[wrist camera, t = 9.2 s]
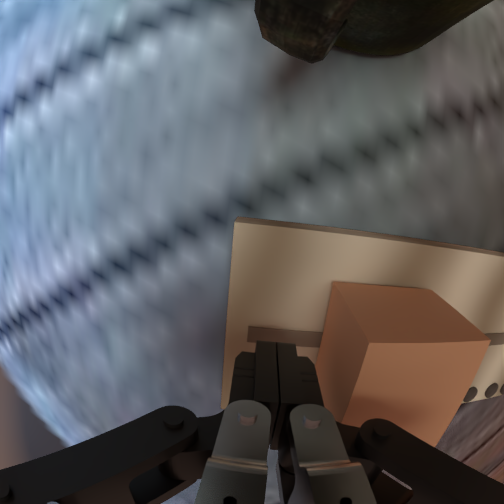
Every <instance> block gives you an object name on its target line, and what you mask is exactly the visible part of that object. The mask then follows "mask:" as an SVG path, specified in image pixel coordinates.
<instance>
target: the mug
mask: <svg viewBox="0 0 504 504" xmlns="http://www.w3.org/2000/svg"><path fill="white" fill-rule="evenodd" d="M492 1H493V0H255V10H254V11H255V14H256V17H257V20H258V23H259V27H260V30H261V34H262V38H264V39H265V40H267V41H269V42H270V43H272V44H274V45H275V46H277V47H278V48H280V49H281V50H283V51H284V52H286V53H287V54H289V55H291V56H294V57H297V58H299V59H302V60H304V61H307V62H309V63H314V62H317V61H321V60H323V59H324V58H325V56H326V55H327V54H328V52H329V51H330V49H331V48H332V46H333V45H335V46H338V47H341V48H344V49H347V50H351V51H356V52H360V53H365V54H374V55H396V54H402V53H407V52H410V51H413V50H416V49H418V48H420V47H422V46H423V45H425V44H426V43H428V42H429V41H431V40H432V39H434V38H435V37H437V36H438V35H440V34H441V33H443V32H444V31H446V30H447V29H449V28H450V27H452V26H453V25H455V24H456V23H458V22H459V21H461V20H463V19H464V18H466V17H467V16H469V15H470V14H472V13H474V12H475V11H477V10H478V9H480V8H482V7H483V6H485V5H487V4H488V3H490V2H492Z"/></svg>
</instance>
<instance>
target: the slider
mask: <svg viewBox="0 0 504 504" xmlns="http://www.w3.org/2000/svg"><path fill="white" fill-rule="evenodd" d="M490 341H491V340H490V339H489V338H488V337H487V336H486V335H485V334H484V333H482V332H481V331H480V330H479V329H478V328H477V327H476V326H474V325H473V324H472V323H471V322H470V321H469V320H467V319H466V318H465V317H464V316H463V315H462V314H460V313H459V312H458V311H457V310H456V309H454V308H453V307H452V306H451V305H450V304H448V303H447V302H446V301H445V300H444V299H442V298H441V297H440V296H439V295H437V294H436V293H435V292H434V291H433V290H431V289H418V288H405V287H392V286H380V285H367V284H356V283H344V282H333V287H332V292H331V297H330V302H329V307H328V312H327V317H326V322H325V326H324V331H323V335H322V340H321V344H320V348H319V353H318V357H317V361H316V365H315V368H316V372H317V377H318V382H319V385H320V389H321V394H322V398H323V403H324V407H325V408H326V409H328V410H329V411H330V412H331V413H332V414H333V416H334V419H335V421H337V422H339V423H342V424H346V425H350V426H355V427H361V425H362V424H363V423H364V422H365V421H367V420H369V419H374V418H381V419H386V420H388V421H391V422H393V423H394V424H396V425H397V426H399V427H401V428H402V429H404V430H406V431H407V432H409V433H411V434H412V435H414V436H416V437H417V438H419V439H421V440H423V441H424V442H426V443H428V444H429V445H431V446H433V447H435V446H436V445H437V443H438V441H439V440H440V438H441V437H442V435H443V434H444V432H445V430H446V429H447V427H448V426H449V424H450V422H451V421H452V419H453V417H454V415H455V414H456V412H457V410H458V408H459V407H460V405H461V403H462V401H463V399H464V397H465V395H466V394H467V392H468V390H469V388H470V386H471V384H472V382H473V380H474V378H475V375H476V373H477V371H478V369H479V367H480V365H481V363H482V360H483V358H484V356H485V353H486V351H487V349H488V346H489V344H490Z"/></svg>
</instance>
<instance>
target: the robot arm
mask: <svg viewBox="0 0 504 504" xmlns="http://www.w3.org/2000/svg"><path fill="white" fill-rule="evenodd" d="M269 445H270V449H271V450H278V460H277V464H276V473H277V481H278V489H279V497H280V504H504V484H502V483H500V482H498V481H496V480H494V479H492V478H490V477H488V476H486V475H484V474H482V473H480V472H478V471H477V470H475V469H473V468H471V467H469V466H467V465H465V464H463V463H462V462H460V461H458V460H456V459H454V458H452V457H451V456H449V455H447V454H445V453H443V452H442V451H440V450H438V449H436V448H435V447H433V446H431V445H429V444H428V443H426V442H424V441H423V440H421V439H419V438H417V437H416V436H414V435H412V434H411V433H409V432H407V431H406V430H404V429H402V428H401V427H399V426H397V425H396V424H394V423H393V422H391V421H388V420H386V419H381V418H374V419H369V420H367V421H365V422H364V423H363V424H362V425H361V427H355V426H350V425H346V424H342V423H339V422H337V421H335V419H334V416H333V414H332V413H331V412H330V411H329V410H328V409H326V408H325V407H324V403H323V398H322V394H321V389H320V385H319V382H318V377H317V372H316V368H315V364H314V363H313V362H312V361H311V360H310V359H309V358H308V357H305V356H298V355H297V350H296V344H295V343H284V342H276V343H275V342H271V341H261V340H257V341H256V347H255V353H254V352H244V351H241V353H240V354H239V355H238V356H237V357H236V358H235V362H234V369H233V376H232V383H231V390H230V397H229V403H228V405H227V407H226V408H225V410H223V411H222V412H221V413H219V414H216V415H213V416H209V417H199V418H197V417H196V416H195V414H194V413H193V412H192V411H190V410H188V409H186V408H184V407H180V406H165V407H161V408H159V409H157V410H155V411H152V412H150V413H148V414H146V415H144V416H142V417H140V418H137V419H135V420H133V421H131V422H129V423H126V424H124V425H122V426H120V427H117V428H115V429H113V430H110V431H108V432H106V433H103V434H101V435H98V436H96V437H94V438H91V439H89V440H86V441H84V442H81V443H78V444H76V445H73V446H71V447H68V448H65V449H63V450H60V451H58V452H55V453H52V454H49V455H46V456H43V457H40V458H37V459H34V460H31V461H28V462H25V463H22V464H19V465H15V466H12V467H9V468H5V469H2V470H0V504H161V503H163V502H164V501H166V500H168V499H169V498H171V497H173V496H174V495H176V494H178V493H179V492H181V491H183V490H184V489H186V488H187V487H189V486H190V485H192V484H193V483H195V482H196V480H197V479H201V483H200V486H199V489H198V493H197V496H196V499H195V503H194V504H264V500H265V491H266V482H267V472H268V466H266V464H267V454H268V449H269ZM383 469H384V470H385V471H387V472H388V473H390V474H391V475H393V476H394V477H396V478H397V479H399V480H400V481H402V482H404V483H405V484H407V485H408V486H410V487H411V488H412V490H409V489H407V488H406V487H404V486H403V485H401V484H399V483H398V482H396V481H395V480H393V479H392V478H390V477H389V476H387V475H386V474H384V473H383V472H382V470H383Z"/></svg>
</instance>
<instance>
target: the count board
mask: <svg viewBox="0 0 504 504" xmlns="http://www.w3.org/2000/svg"><path fill="white" fill-rule="evenodd" d="M333 282H344V283H356V284H367V285H380V286H392V287H405V288H418V289H431V290H433V291H434V292H435V293H436V294H437V295H439V296H440V297H441V298H442V299H444V300H445V301H446V302H447V303H448V304H450V305H451V306H452V307H453V308H454V309H456V310H457V311H458V312H459V313H460V314H462V315H463V316H464V317H465V318H466V319H467V320H469V321H470V322H471V323H472V324H473V325H474V326H476V327H477V328H478V329H479V330H480V331H481V332H482V333H484V334H485V335H486V336H487V337H488V338H489V339H490V340H491V341H490V344H489V346H488V349H487V351H486V353H485V356H484V358H483V360H482V363H481V365H480V367H479V369H478V371H477V373H476V375H475V378H474V380H473V382H472V384H471V386H470V388H469V390H468V392H467V394H466V395H465V397H464V399H463V401H462V403H467V402H472V401H477V400H482V399H486V398H491V397H495V396H499V395H503V394H504V253H503V252H497V251H492V250H486V249H480V248H474V247H468V246H462V245H456V244H449V243H443V242H437V241H430V240H423V239H417V238H410V237H403V236H396V235H389V234H381V233H374V232H366V231H359V230H351V229H343V228H335V227H327V226H319V225H310V224H302V223H293V222H284V221H275V220H265V219H256V218H246V217H237V219H236V221H235V224H234V235H233V247H232V259H231V271H230V283H229V296H228V309H227V322H226V336H225V350H224V365H223V380H222V396H221V409H225V408H226V407H227V405H228V403H229V397H230V390H231V383H232V376H233V369H234V362H235V358H236V357H237V356H238V355H239V354H240V353H241V351H244V352H254V353H255V347H256V341H257V340H261V341H271V342H275V343H276V342H284V343H295V344H296V350H297V355H298V356H305V357H308V358H309V359H310V360H311V361H312V362H313V363H314V364H315V365H316V361H317V357H318V353H319V348H320V344H321V340H322V335H323V331H324V326H325V322H326V317H327V312H328V307H329V302H330V297H331V292H332V287H333Z"/></svg>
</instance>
